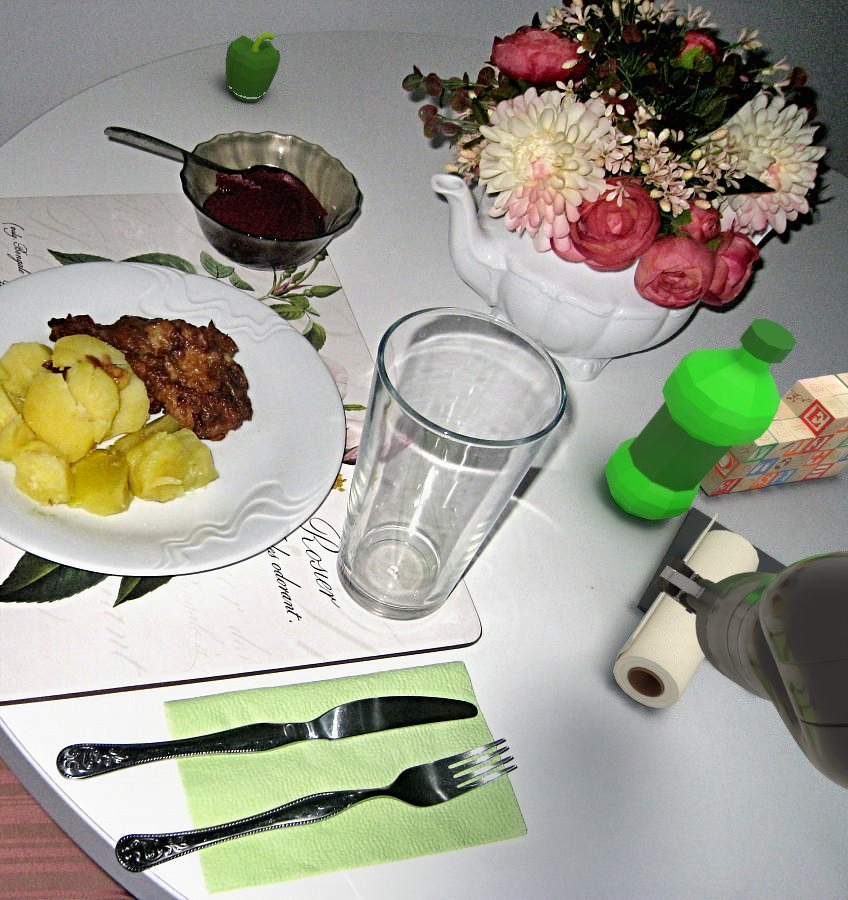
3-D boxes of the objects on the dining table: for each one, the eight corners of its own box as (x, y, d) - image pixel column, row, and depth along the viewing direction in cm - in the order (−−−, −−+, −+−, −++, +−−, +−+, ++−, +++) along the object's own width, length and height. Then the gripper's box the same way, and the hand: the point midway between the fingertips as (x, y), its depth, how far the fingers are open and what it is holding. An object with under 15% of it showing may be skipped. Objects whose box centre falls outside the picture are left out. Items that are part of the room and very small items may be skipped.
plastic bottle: (642, 550, 96) (793, 386, 77) (572, 480, 101) (698, 310, 82) (695, 517, 101) (849, 357, 82) (626, 452, 106) (756, 286, 87)
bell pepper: (219, 102, 141) (231, 39, 133) (220, 77, 146) (231, 15, 139) (271, 112, 142) (286, 50, 135) (270, 87, 148) (284, 26, 140)
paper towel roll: (647, 717, 83) (728, 585, 95) (694, 699, 78) (773, 562, 90) (589, 659, 84) (676, 536, 96) (631, 637, 79) (718, 510, 92)
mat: (796, 576, 98) (799, 574, 98) (753, 687, 87) (756, 684, 86) (690, 509, 102) (693, 506, 101) (636, 607, 91) (639, 604, 90)
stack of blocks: (708, 498, 103) (775, 427, 94) (676, 457, 107) (738, 385, 98) (837, 475, 111) (911, 407, 102) (803, 437, 114) (871, 368, 105)
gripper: (640, 617, 57) (615, 601, 73) (841, 756, 53) (767, 705, 69) (712, 521, 56) (670, 526, 73) (922, 654, 52) (827, 628, 69)
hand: (718, 614), depth 71 cm, fingers closed
